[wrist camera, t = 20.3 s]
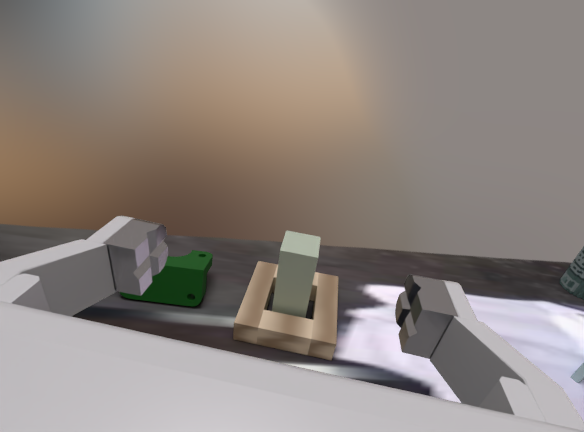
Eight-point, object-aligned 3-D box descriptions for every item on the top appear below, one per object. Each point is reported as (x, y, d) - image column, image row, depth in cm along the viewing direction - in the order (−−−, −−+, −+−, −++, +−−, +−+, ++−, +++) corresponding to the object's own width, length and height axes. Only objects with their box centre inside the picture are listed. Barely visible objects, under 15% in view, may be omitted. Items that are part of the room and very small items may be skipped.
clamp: (197, 304, 50) (224, 258, 48) (185, 327, 44) (215, 276, 42) (127, 268, 48) (152, 219, 46) (104, 287, 43) (131, 231, 40)
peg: (270, 321, 43) (280, 250, 37) (276, 298, 47) (286, 230, 41) (302, 328, 43) (318, 257, 37) (306, 304, 47) (320, 237, 41)
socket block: (233, 339, 40) (234, 322, 38) (256, 275, 51) (258, 261, 49) (331, 360, 39) (336, 344, 38) (334, 291, 50) (338, 276, 49)
